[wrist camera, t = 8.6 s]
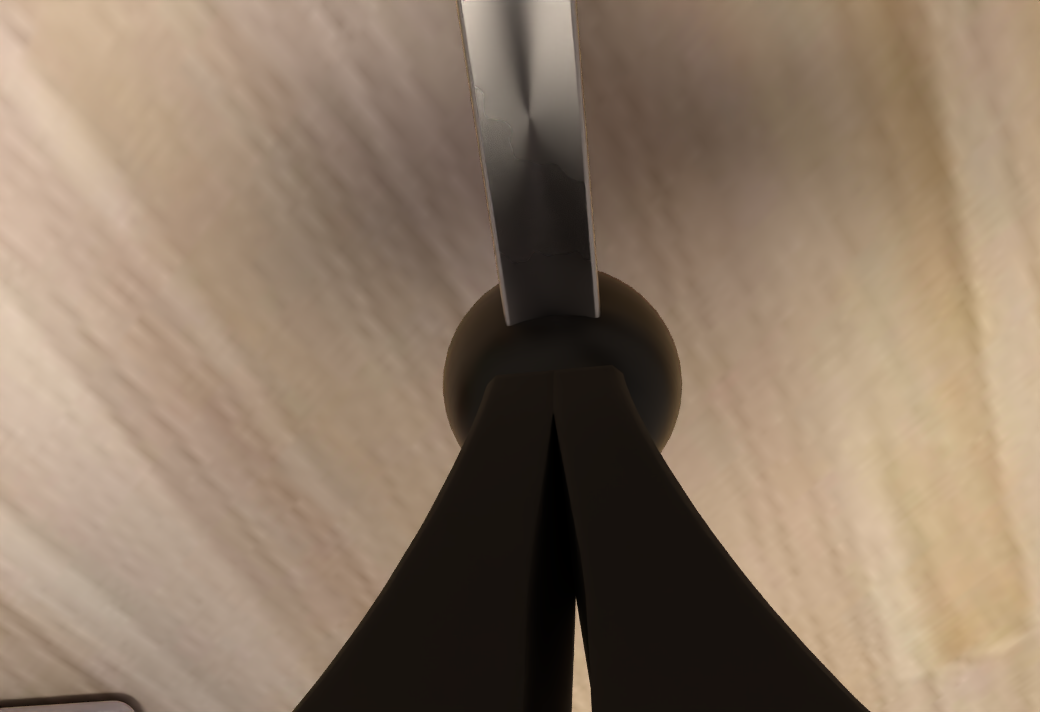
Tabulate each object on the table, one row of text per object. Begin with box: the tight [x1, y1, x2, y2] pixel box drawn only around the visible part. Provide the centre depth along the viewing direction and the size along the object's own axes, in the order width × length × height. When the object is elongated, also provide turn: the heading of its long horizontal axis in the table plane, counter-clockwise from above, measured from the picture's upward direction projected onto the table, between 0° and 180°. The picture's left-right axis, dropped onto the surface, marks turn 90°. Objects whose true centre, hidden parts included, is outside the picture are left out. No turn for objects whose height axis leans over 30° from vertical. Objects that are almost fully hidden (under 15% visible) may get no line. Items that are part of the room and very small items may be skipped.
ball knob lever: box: [443, 0, 682, 453], centre depth 9 cm, size 12×3×3 cm, turn 7°
